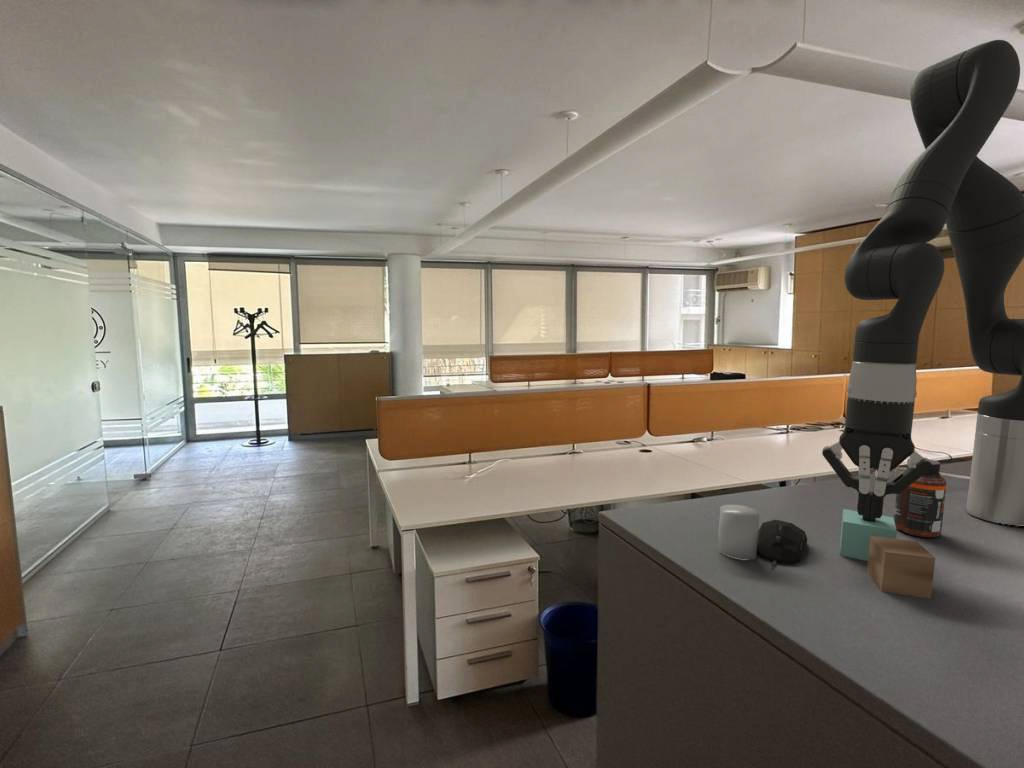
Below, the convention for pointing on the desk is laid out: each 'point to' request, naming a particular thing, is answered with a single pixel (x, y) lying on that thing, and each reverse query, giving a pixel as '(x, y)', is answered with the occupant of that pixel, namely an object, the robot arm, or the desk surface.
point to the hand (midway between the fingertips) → (868, 519)
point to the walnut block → (901, 566)
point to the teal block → (862, 533)
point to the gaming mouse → (781, 543)
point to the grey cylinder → (738, 531)
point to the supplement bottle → (922, 504)
